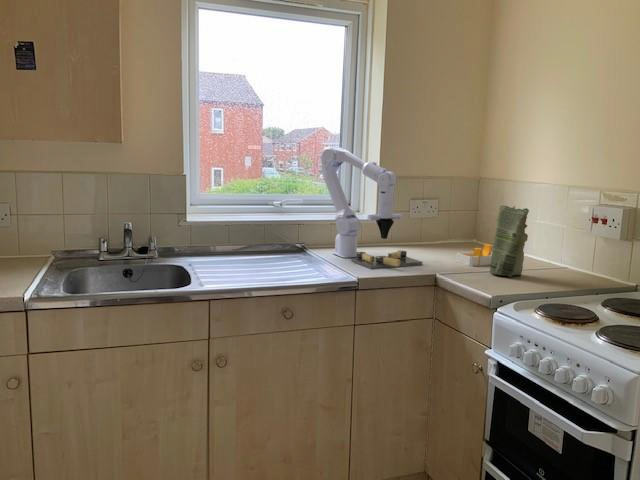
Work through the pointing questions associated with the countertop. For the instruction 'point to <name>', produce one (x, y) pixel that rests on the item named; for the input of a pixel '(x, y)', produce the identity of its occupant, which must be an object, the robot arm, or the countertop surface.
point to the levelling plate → (374, 265)
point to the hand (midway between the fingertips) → (384, 238)
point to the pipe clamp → (479, 252)
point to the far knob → (397, 254)
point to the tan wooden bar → (365, 256)
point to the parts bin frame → (473, 259)
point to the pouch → (509, 242)
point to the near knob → (387, 261)
